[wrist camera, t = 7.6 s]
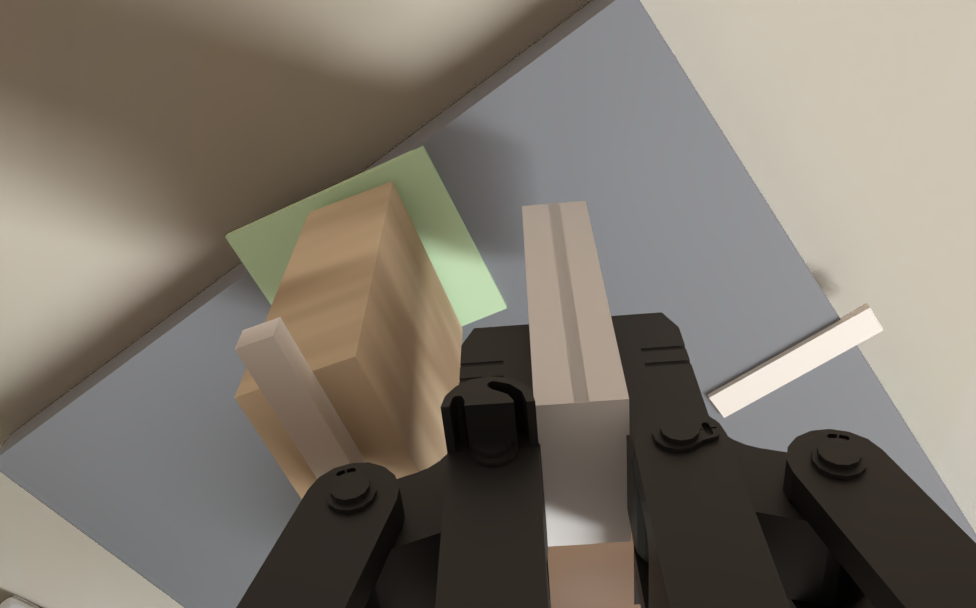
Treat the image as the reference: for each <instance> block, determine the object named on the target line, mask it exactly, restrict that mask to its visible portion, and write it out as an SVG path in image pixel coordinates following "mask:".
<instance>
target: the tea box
mask: <svg viewBox="0 0 976 608" xmlns="http://www.w3.org/2000/svg"><path fill="white" fill-rule="evenodd" d="M0 608H40V607H38V606H36V605H35V604H33V603H31V602H29V601H27V600H24V599H22V598H20V597H18V596H13V597H11V598H8V599H6V600H5V601H3V602H2V603H1V604H0Z"/></svg>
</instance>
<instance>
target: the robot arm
mask: <svg viewBox="0 0 976 608" xmlns="http://www.w3.org/2000/svg"><path fill="white" fill-rule="evenodd" d="M522 215H523V232H524V248H525V265H526V281H527V298H528V314H529V324H525V325H512V326H498V327H484V328H474V329H473V330H472V332H471V333H470V334H469V336H468V337H467V338H466V340H465V341H464V342H463V344H462V345H461V360H460V366H461V367H460V376H459V380H460V382H459V385H457V386H456V387H454V388H453V389H452V390H451V391H450V392H449V393H448V394H447V395H446V396H445V397H444V400H443V402H442V405H441V407H440V408H441V414H442V421H443V427H444V434H445V441H446V447H447V454H446V455H445V456H444V457H443V458H442V459H441V460H440V461H439V462H437V463H436V464H434V465H432V466H431V467H429V468H427V469H424V470H422V471H419V472H417V473H414V474H411V475H408V476H404V477H401V478H398V479H396V477H395V475H394V474H393V473H392V472H390V471H389V470H388V469H387V468H385V467H384V466H380V465H377V464H373V463H369V462H367V463H350V464H346V465H343V466H340V467H336V468H333V469H332V470H330V471H328V472H327V473H325V474H323V475H322V476H320V477H319V478H318V479H317V480H316V481H315V482H314V483H313V484H312V485H311V487H310V488H309V489H308V490H307V492H306V494H305V495H304V497H303V499H302V500H301V502H300V503H299V505H298V507H297V508H296V510H295V512H294V513H293V515H292V517H291V518H290V520H289V522H288V523H287V525H286V527H285V528H284V530H283V531H282V533H281V535H280V536H279V538H278V540H277V541H276V543H275V545H274V546H273V548H272V550H271V551H270V553H269V555H268V556H267V558H266V560H265V561H264V563H263V564H262V566H261V568H260V569H259V571H258V573H257V574H256V576H255V578H254V579H253V581H252V583H251V584H250V586H249V588H248V589H247V591H246V593H245V594H244V596H243V597H242V599H241V601H240V602H239V604H238V606H237V607H236V608H551V598H550V582H549V568H548V547H550V546H567V545H584V544H596V543H612V542H629V541H631V534H630V526H631V532H632V537H633V543H634V605H636V604H640V605H641V608H976V543H975V542H974V541H973V540H972V539H971V538H970V537H969V536H968V535H967V534H966V533H965V532H964V531H963V530H962V529H961V528H960V527H959V526H958V525H957V524H956V523H955V522H954V521H953V520H952V519H951V518H950V517H949V516H948V515H947V514H946V513H945V512H944V511H943V510H942V509H941V508H940V507H939V506H938V505H937V504H936V503H935V502H934V501H933V500H932V499H931V498H930V497H929V496H928V495H927V494H926V493H925V492H924V491H923V490H922V489H921V488H920V487H919V486H918V485H917V484H916V483H915V482H914V481H913V480H912V479H911V478H910V477H909V476H908V475H907V474H906V473H905V472H904V471H903V470H902V469H901V468H900V467H899V466H898V465H897V464H896V463H895V462H894V461H893V460H892V459H891V458H890V457H889V456H888V455H887V454H886V453H885V452H884V451H883V450H882V449H881V448H880V447H878V446H877V445H875V444H874V443H873V442H871V441H870V440H869V439H867V438H864V437H862V436H859V435H856V434H854V433H851V432H848V431H841V430H834V429H823V430H813V431H809V432H807V433H804V434H802V435H800V436H797V437H796V438H795V439H794V440H793V441H792V442H791V444H790V445H789V446H788V449H787V452H782V451H775V450H769V449H763V448H758V447H753V446H749V445H745V444H743V443H740V442H738V441H736V440H733V439H731V438H730V437H728V436H727V433H726V432H725V430H724V429H723V428H722V426H721V425H720V423H719V422H717V421H716V420H714V419H713V418H711V417H710V416H709V414H708V412H707V409H706V406H705V403H704V400H703V397H702V394H701V391H700V388H699V385H698V382H697V379H696V376H695V373H694V370H693V367H692V365H691V364H690V359H689V356H688V353H687V350H686V349H685V344H684V341H683V338H682V335H681V332H680V329H679V327H678V326H677V325H676V324H674V323H673V322H672V321H671V320H670V319H669V318H668V317H666V316H665V315H664V314H663V313H662V312H658V313H645V314H631V315H618V316H611V314H610V309H609V305H608V300H607V296H606V291H605V287H604V282H603V277H602V273H601V268H600V264H599V259H598V255H597V250H596V246H595V241H594V237H593V232H592V227H591V223H590V218H589V214H588V209H587V205H586V201H576V202H563V203H551V204H540V205H528V206H522Z"/></svg>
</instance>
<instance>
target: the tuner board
mask: <svg viewBox="0 0 976 608" xmlns="http://www.w3.org/2000/svg"><path fill="white" fill-rule="evenodd" d="M391 181H393V182H394V185H395V187H396V189H397V191H398V193H399V195H400V197H401V199H402V201H403V204H404V206H405V208H406V210H407V212H408V214H409V216H410V218H411V221H412V223H413V225H414V227H415V229H416V231H417V233H418V235H419V237H420V240H421V242H422V244H423V246H424V248H425V250H426V252H427V254H428V257H429V259H430V261H431V263H432V265H433V267H434V269H435V271H436V274H437V276H438V278H439V280H440V282H441V284H442V286H443V288H444V290H445V293H446V295H447V297H448V299H449V301H450V303H451V305H452V307H453V310H454V312H455V314H456V316H457V318H458V320H459V322H460V324H461V326H462V329H463V332H462V344H463V342H464V341H465V340H466V338H467V337H468V336H469V334H470V333H471V332H472V330H473V329H474V328H484V327H498V326H512V325H525V324H529V314H528V298H527V281H526V265H525V248H524V232H523V215H522V206H528V205H540V204H551V203H563V202H576V201H586V205H587V209H588V214H589V218H590V223H591V227H592V232H593V237H594V241H595V246H596V250H597V255H598V259H599V264H600V268H601V273H602V277H603V282H604V287H605V291H606V296H607V300H608V305H609V309H610V314H611V316H618V315H631V314H645V313H658V312H662V313H663V314H664V315H665V316H666V317H668V318H669V319H670V320H671V321H672V322H673V323H674V324H676V325H677V326H678V327H679V329H680V332H681V335H682V338H683V341H684V344H685V349H686V350H687V353H688V356H689V359H690V364H691V365H692V367H693V370H694V373H695V376H696V379H697V382H698V385H699V388H700V391H701V394H702V397H703V400H704V403H705V406H706V409H707V412H708V414H709V416H710V417H711V418H713V419H714V420H716V421H717V422H719V423H720V425H721V426H722V428H723V429H724V430H725V432H726V433H727V436H728V437H730V438H731V439H733V440H736V441H738V442H740V443H743V444H745V445H749V446H753V447H758V448H763V449H769V450H775V451H782V452H787V449H788V446H789V445H790V444H791V442H792V441H793V440H794V439H795V438H796V437H797V436H800V435H802V434H804V433H807V432H809V431H813V430H823V429H834V430H841V431H848V432H851V433H854V434H856V435H859V436H862V437H864V438H867V439H869V440H870V441H871V442H873V443H874V444H875V445H877V446H878V447H880V448H881V449H882V450H883V451H884V452H885V453H886V454H887V455H888V456H889V457H890V458H891V459H892V460H893V461H894V462H895V463H896V464H897V465H898V466H899V467H900V468H901V469H902V470H903V471H904V472H905V473H906V474H907V475H908V476H909V477H910V478H911V479H912V480H913V481H914V482H915V483H916V484H917V485H918V486H919V487H920V488H921V489H922V490H923V491H924V492H925V493H926V494H927V495H928V496H929V497H930V498H931V499H932V500H933V501H934V502H935V503H936V504H937V505H938V506H939V507H940V508H941V509H942V510H943V511H944V512H945V513H946V514H947V515H948V516H949V517H950V518H951V519H952V520H953V521H954V522H955V523H956V524H957V525H958V526H959V527H960V528H961V529H962V530H963V531H964V532H965V533H966V534H967V535H968V536H969V537H970V538H971V539H972V540H973V541H974V542H975V543H976V533H975V532H974V530H973V529H972V527H971V526H970V524H969V522H968V521H967V519H966V518H965V516H964V514H963V513H962V511H961V510H960V508H959V506H958V505H957V503H956V502H955V500H954V499H953V497H952V495H951V494H950V492H949V491H948V489H947V487H946V486H945V484H944V483H943V481H942V480H941V478H940V476H939V475H938V473H937V472H936V470H935V468H934V467H933V465H932V464H931V462H930V460H929V459H928V457H927V456H926V454H925V453H924V451H923V449H922V448H921V446H920V445H919V443H918V441H917V440H916V438H915V437H914V435H913V433H912V432H911V430H910V429H909V427H908V426H907V424H906V422H905V421H904V419H903V418H902V416H901V414H900V413H899V411H898V410H897V408H896V407H895V405H894V403H893V402H892V400H891V399H890V397H889V395H888V394H887V392H886V391H885V389H884V387H883V386H882V384H881V383H880V381H879V380H878V378H877V376H876V375H875V373H874V372H873V370H872V368H871V367H870V365H869V364H868V362H867V360H866V359H865V357H864V356H863V354H862V353H861V351H860V349H859V348H858V346H857V345H858V344H859V343H861V342H863V341H865V340H867V339H869V338H870V337H872V336H874V335H876V334H878V333H879V332H881V331H883V328H882V327H881V325H880V323H879V322H878V320H877V319H876V317H875V315H874V314H873V312H872V310H871V309H870V307H869V306H868V305H867V303H866V304H865V305H863V306H861V307H859V308H858V309H856V310H854V311H852V312H850V313H849V314H847V315H845V316H843V317H842V318H839V316H838V314H837V313H836V311H835V310H834V308H833V307H832V305H831V303H830V302H829V300H828V299H827V297H826V295H825V294H824V292H823V291H822V289H821V287H820V286H819V284H818V283H817V281H816V280H815V278H814V276H813V275H812V273H811V272H810V270H809V268H808V267H807V265H806V264H805V262H804V260H803V259H802V257H801V256H800V254H799V253H798V251H797V249H796V248H795V246H794V245H793V243H792V241H791V240H790V238H789V237H788V235H787V234H786V232H785V230H784V229H783V227H782V226H781V224H780V222H779V221H778V219H777V218H776V216H775V214H774V213H773V211H772V210H771V208H770V207H769V205H768V203H767V202H766V200H765V199H764V197H763V195H762V194H761V192H760V191H759V189H758V187H757V186H756V184H755V183H754V181H753V180H752V178H751V176H750V175H749V173H748V172H747V170H746V168H745V167H744V165H743V164H742V162H741V161H740V159H739V157H738V156H737V154H736V153H735V151H734V149H733V148H732V146H731V145H730V143H729V141H728V140H727V138H726V137H725V135H724V134H723V132H722V130H721V129H720V127H719V126H718V124H717V122H716V121H715V119H714V118H713V116H712V114H711V113H710V111H709V110H708V108H707V107H706V105H705V103H704V102H703V100H702V99H701V97H700V95H699V94H698V92H697V91H696V89H695V88H694V86H693V84H692V83H691V81H690V80H689V78H688V76H687V75H686V73H685V72H684V70H683V68H682V67H681V65H680V64H679V62H678V61H677V59H676V57H675V56H674V54H673V53H672V51H671V49H670V48H669V46H668V45H667V43H666V41H665V40H664V38H663V37H662V35H661V34H660V32H659V30H658V29H657V27H656V26H655V24H654V22H653V21H652V19H651V18H650V16H649V14H648V13H647V11H646V10H645V8H644V7H643V5H642V3H641V2H640V0H592V1H591V2H590V3H588V4H587V5H585V6H584V7H583V8H581V9H580V10H579V11H577V12H576V13H575V14H573V15H572V16H571V17H569V18H568V19H567V20H565V21H564V22H563V23H561V24H560V25H559V26H557V27H556V28H555V29H553V30H552V31H551V32H549V33H548V34H547V35H545V36H544V37H543V38H541V39H540V40H539V41H537V42H536V43H535V44H533V45H532V46H531V47H529V48H528V49H527V50H525V51H524V52H523V53H521V54H520V55H519V56H517V57H516V58H514V59H513V60H512V61H510V62H509V63H508V64H506V65H505V66H504V67H502V68H501V69H500V70H498V71H497V72H496V73H494V74H493V75H492V76H490V77H489V78H488V79H486V80H485V81H484V82H482V83H481V84H480V85H478V86H477V87H476V88H474V89H473V90H472V91H470V92H469V93H468V94H466V95H465V96H464V97H462V98H461V99H460V100H458V101H457V102H456V103H454V104H453V105H452V106H450V107H449V108H448V109H446V110H445V111H443V112H442V113H441V114H439V115H438V116H437V117H435V118H434V119H433V120H431V121H430V122H429V123H427V124H426V125H425V126H423V127H422V128H421V129H419V130H418V131H417V132H415V133H414V134H413V135H411V136H410V137H409V138H407V139H406V140H405V141H403V142H402V143H401V144H399V145H398V146H397V147H395V148H394V149H393V150H391V151H390V152H389V153H387V154H386V155H385V156H383V157H382V158H381V159H379V160H378V161H376V162H375V163H374V164H372V165H371V166H370V167H368V168H367V169H366V170H364V171H363V172H362V173H360V174H358V175H356V176H354V177H351V178H349V179H347V180H345V181H343V182H340V183H338V184H336V185H334V186H332V187H329V188H327V189H325V190H323V191H320V192H318V193H316V194H314V195H312V196H309V197H307V198H305V199H303V200H301V201H298V202H296V203H294V204H292V205H290V206H287V207H285V208H283V209H281V210H279V211H276V212H274V213H272V214H270V215H267V216H265V217H263V218H261V219H259V220H256V221H254V222H252V223H250V224H248V225H245V226H243V227H241V228H239V229H237V230H234V231H232V232H230V233H228V234H227V235H226V237H225V238H226V239H227V241H228V242H229V244H230V245H231V247H232V248H233V250H234V251H235V253H236V254H237V256H238V257H239V259H240V260H241V261H242V262H241V263H240V264H239V265H237V266H236V267H234V268H233V269H232V270H230V271H229V272H228V273H226V274H225V275H224V276H222V277H221V278H220V279H218V280H217V281H216V282H214V283H213V284H212V285H210V286H209V287H208V288H206V289H205V290H204V291H202V292H201V293H200V294H198V295H197V296H196V297H194V298H193V299H192V300H190V301H189V302H188V303H186V304H185V305H184V306H182V307H181V308H180V309H178V310H177V311H176V312H174V313H173V314H172V315H170V316H169V317H168V318H166V319H165V320H163V321H162V322H161V323H159V324H158V325H157V326H155V327H154V328H153V329H151V330H150V331H149V332H147V333H146V334H145V335H143V336H142V337H141V338H139V339H138V340H137V341H135V342H134V343H133V344H131V345H130V346H129V347H127V348H126V349H125V350H123V351H122V352H121V353H119V354H118V355H117V356H115V357H114V358H113V359H111V360H110V361H109V362H107V363H106V364H105V365H103V366H102V367H101V368H99V369H98V370H97V371H95V372H94V373H92V374H91V375H90V376H88V377H87V378H86V379H84V380H83V381H82V382H80V383H79V384H78V385H76V386H75V387H74V388H72V389H71V390H70V391H68V392H67V393H66V394H64V395H63V396H62V397H60V398H59V399H58V400H56V401H55V402H54V403H52V404H51V405H50V406H48V407H47V408H46V409H44V410H43V411H42V412H40V413H39V414H38V415H36V416H35V417H34V418H32V419H31V420H30V421H28V422H27V423H26V424H24V425H23V426H21V427H20V428H19V429H17V430H16V431H15V432H13V433H12V434H11V435H10V436H9V437H8V439H7V440H6V441H5V443H4V444H3V445H2V447H1V448H0V472H1V473H3V474H4V475H6V476H7V477H8V478H10V479H11V480H12V481H14V482H15V483H16V484H18V485H19V486H20V487H22V488H23V489H25V490H26V491H27V492H29V493H30V494H31V495H33V496H34V497H35V498H37V499H38V500H39V501H41V502H42V503H44V504H45V505H46V506H48V507H49V508H50V509H52V510H53V511H54V512H56V513H57V514H58V515H60V516H61V517H63V518H64V519H65V520H67V521H68V522H69V523H71V524H72V525H73V526H75V527H76V528H77V529H79V530H80V531H82V532H83V533H84V534H86V535H87V536H88V537H90V538H91V539H92V540H94V541H95V542H96V543H98V544H99V545H101V546H102V547H103V548H105V549H106V550H107V551H109V552H110V553H111V554H113V555H114V556H115V557H117V558H118V559H120V560H121V561H122V562H124V563H125V564H126V565H128V566H129V567H130V568H132V569H133V570H134V571H136V572H137V573H138V574H140V575H141V576H143V577H144V578H145V579H147V580H148V581H149V582H151V583H152V584H153V585H155V586H156V587H157V588H159V589H160V590H162V591H163V592H164V593H166V594H167V595H168V596H170V597H171V598H172V599H174V600H175V601H176V602H178V603H179V604H181V605H182V606H183V607H185V608H236V607H237V606H238V604H239V602H240V601H241V599H242V597H243V596H244V594H245V593H246V591H247V589H248V588H249V586H250V584H251V583H252V581H253V579H254V578H255V576H256V574H257V573H258V571H259V569H260V568H261V566H262V564H263V563H264V561H265V560H266V558H267V556H268V555H269V553H270V551H271V550H272V548H273V546H274V545H275V543H276V541H277V540H278V538H279V536H280V535H281V533H282V531H283V530H284V528H285V527H286V525H287V523H288V522H289V520H290V518H291V517H292V515H293V513H294V512H295V510H296V508H297V507H298V505H299V503H300V502H301V500H302V499H301V497H300V496H299V494H298V493H297V491H296V490H295V488H294V487H293V485H292V484H291V482H290V481H289V479H288V478H287V476H286V475H285V473H284V472H283V470H282V469H281V467H280V466H279V464H278V463H277V461H276V460H275V458H274V457H273V455H272V454H271V452H270V451H269V449H268V448H267V446H266V445H265V443H264V442H263V440H262V438H261V437H260V435H259V434H258V432H257V431H256V429H255V428H254V426H253V425H252V423H251V422H250V420H249V419H248V417H247V416H246V414H245V413H244V411H243V410H242V408H241V407H240V405H239V404H238V402H237V401H236V399H235V398H234V397H235V395H236V392H237V390H238V387H239V385H240V382H241V380H242V377H243V375H244V372H245V370H246V366H245V365H244V363H243V362H242V360H241V359H240V357H239V355H238V354H237V352H236V351H235V347H236V345H237V342H238V340H239V338H240V335H241V333H242V331H243V330H245V329H247V328H250V327H253V326H256V325H259V324H261V323H264V322H265V320H266V318H267V315H268V313H269V310H270V308H271V305H272V303H273V300H274V298H275V295H276V293H277V290H278V288H279V286H280V283H281V281H282V278H283V276H284V273H285V271H286V268H287V266H288V263H289V261H290V258H291V256H292V253H293V251H294V248H295V246H296V243H297V241H298V238H299V236H300V233H301V231H302V228H303V226H304V223H305V221H306V218H307V216H308V213H309V212H311V211H314V210H317V209H319V208H322V207H325V206H327V205H330V204H333V203H335V202H338V201H341V200H343V199H346V198H349V197H351V196H354V195H357V194H359V193H362V192H365V191H367V190H370V189H373V188H375V187H378V186H381V185H383V184H386V183H389V182H391Z"/></svg>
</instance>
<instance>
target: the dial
mask: <svg viewBox="0 0 976 608" xmlns="http://www.w3.org/2000/svg"><path fill="white" fill-rule="evenodd" d="M462 332H463V329H462V326H461V324H460V322H459V320H458V318H457V316H456V314H455V312H454V310H453V307H452V305H451V303H450V301H449V299H448V297H447V295H446V293H445V290H444V288H443V286H442V284H441V282H440V280H439V278H438V276H437V274H436V271H435V269H434V267H433V265H432V263H431V261H430V259H429V257H428V254H427V252H426V250H425V248H424V246H423V244H422V242H421V240H420V237H419V235H418V233H417V231H416V229H415V227H414V225H413V223H412V221H411V218H410V216H409V214H408V212H407V210H406V208H405V206H404V204H403V201H402V199H401V197H400V195H399V193H398V191H397V189H396V187H395V185H394V182H393V181H391V182H389V183H386V184H383V185H381V186H378V187H375V188H373V189H370V190H367V191H365V192H362V193H359V194H357V195H354V196H351V197H349V198H346V199H343V200H341V201H338V202H335V203H333V204H330V205H327V206H325V207H322V208H319V209H317V210H314V211H311V212H309V213H308V216H307V218H306V221H305V223H304V226H303V228H302V231H301V233H300V236H299V238H298V241H297V243H296V246H295V248H294V251H293V253H292V256H291V258H290V261H289V263H288V266H287V268H286V271H285V273H284V276H283V278H282V281H281V283H280V286H279V288H278V290H277V293H276V295H275V298H274V300H273V303H272V305H271V308H270V310H269V313H268V315H267V318H266V320H265V322H264V323H261V324H259V325H256V326H253V327H250V328H247V329H245V330H243V331H242V333H241V335H240V338H239V340H238V342H237V345H236V347H235V351H236V352H237V354H238V355H239V357H240V359H241V360H242V362H243V363H244V365H245V366H246V370H245V372H244V375H243V377H242V380H241V382H240V385H239V387H238V390H237V392H236V395H235V397H234V398H235V399H236V401H237V402H238V404H239V405H240V407H241V408H242V410H243V411H244V413H245V414H246V416H247V417H248V419H249V420H250V422H251V423H252V425H253V426H254V428H255V429H256V431H257V432H258V434H259V435H260V437H261V438H262V440H263V442H264V443H265V445H266V446H267V448H268V449H269V451H270V452H271V454H272V455H273V457H274V458H275V460H276V461H277V463H278V464H279V466H280V467H281V469H282V470H283V472H284V473H285V475H286V476H287V478H288V479H289V481H290V482H291V484H292V485H293V487H294V488H295V490H296V491H297V493H298V494H299V496H300V497H301V499H303V497H304V495H305V494H306V492H307V490H308V489H309V488H310V487H311V485H312V484H313V483H314V482H315V481H316V480H317V479H318V478H319V477H320V476H322V475H323V474H325V473H327V472H328V471H330V470H332V469H333V468H336V467H340V466H343V465H346V464H350V463H367V462H369V463H373V464H377V465H380V466H384V467H385V468H387V469H388V470H389V471H390V472H392V473H393V474H394V475H395V477H396V479H398V478H401V477H404V476H408V475H411V474H414V473H417V472H419V471H422V470H424V469H427V468H429V467H431V466H432V465H434V464H436V463H437V462H439V461H440V460H441V459H442V458H443V457H444V456H445V455H446V454H447V447H446V441H445V434H444V427H443V421H442V414H441V408H440V407H441V405H442V402H443V400H444V397H445V396H446V395H447V394H448V393H449V392H450V391H451V390H452V389H453V388H454V387H456V386H457V385H459V382H460V380H459V376H460V367H461V366H460V360H461V345H462ZM630 534H631V541H629V542H612V543H596V544H584V545H567V546H550V547H548V568H549V582H550V598H551V608H641V605H640V604H636V605H634V543H633V537H632V532H631V526H630Z"/></svg>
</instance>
